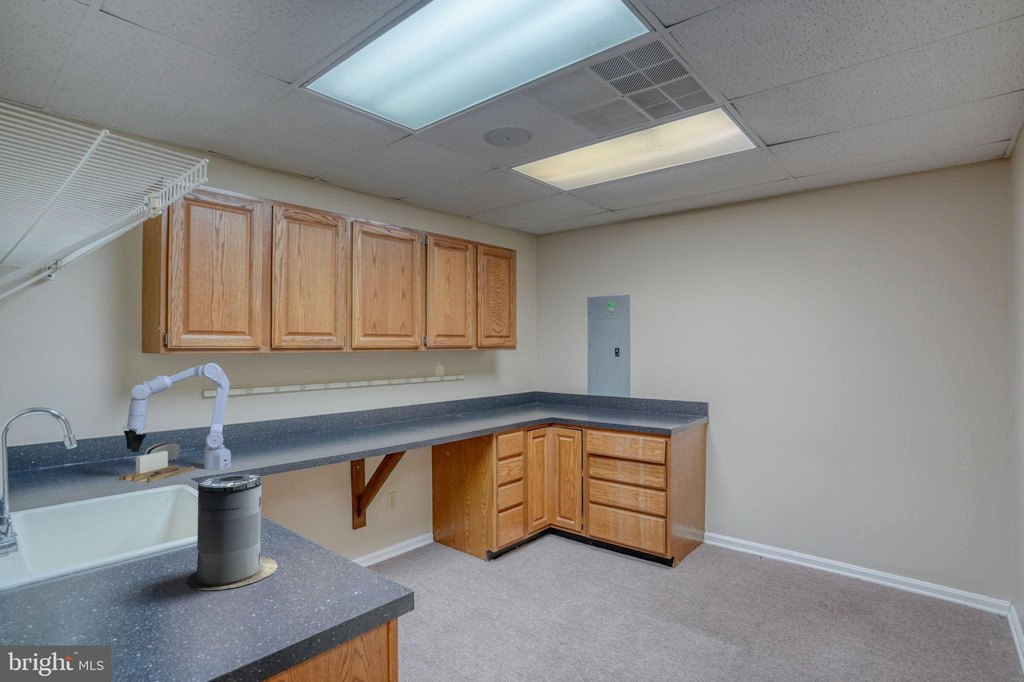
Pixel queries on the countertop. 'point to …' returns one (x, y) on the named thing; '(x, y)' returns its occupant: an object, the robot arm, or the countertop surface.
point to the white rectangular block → (151, 462)
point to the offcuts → (164, 471)
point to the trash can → (229, 534)
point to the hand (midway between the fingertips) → (132, 450)
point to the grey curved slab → (165, 449)
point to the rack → (147, 476)
